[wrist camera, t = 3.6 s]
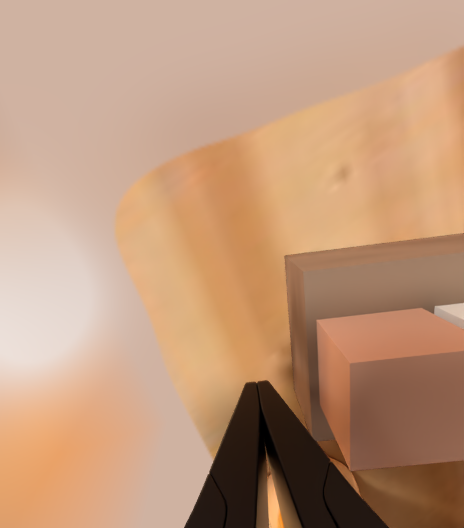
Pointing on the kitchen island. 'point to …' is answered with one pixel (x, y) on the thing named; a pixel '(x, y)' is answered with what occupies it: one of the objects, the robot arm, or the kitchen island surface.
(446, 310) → the cream tile
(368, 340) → the terracotta tile
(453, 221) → the kitchen island surface
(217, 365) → the kitchen island surface
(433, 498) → the kitchen island surface
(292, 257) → the dark walnut board
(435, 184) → the kitchen island surface
